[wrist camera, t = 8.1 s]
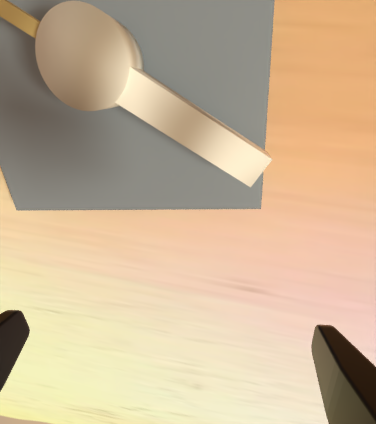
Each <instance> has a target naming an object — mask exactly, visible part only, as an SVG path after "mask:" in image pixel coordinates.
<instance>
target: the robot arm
mask: <svg viewBox="0 0 376 424" xmlns="http://www.w3.org/2000/svg"><path fill="white" fill-rule="evenodd" d="M29 331H30V330H29V326H28V324H27V322H26V319H25V317H24V315H23V313H22V312H21V311H19V310H7V311H5V312H3V313H1V314H0V391H1V390H2V388H3V386H4V384H5V382H6V380H7V378H8V376H9V374H10V372H11V370H12V368H13V366H14V364H15V362H16V360H17V358H18V356H19V354H20V352H21V350H22V348H23V346H24V344H25V342H26V340H27V338H28V336H29ZM311 348H312V355H313V360H314V364H315V368H316V373H317V377H318V381H319V386H320V390H321V395H322V399H323V403H324V408H325V412H326V416H327V419H328V422H329V424H376V367H375V366H374V365H373V364H372V363H371V362H370V361H369V360H368V359H367V358H366V357H365V356H364V355H363V354H362V353H361V352H360V351H359V350H358V349H357V348H356V347H354V346H353V345H352V344H351V343H350V342H349V341H348V340H347V339H346V338H345V337H344V336H343V335H342V334H341V333H340V332H339V331H338V330H337V329H336V328H334V327H333V326H331V325H317V326H316V327H315V330H314V335H313V340H312V347H311Z"/></svg>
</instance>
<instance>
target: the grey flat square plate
mask: <svg viewBox="0 0 376 424" xmlns="http://www.w3.org/2000/svg"><path fill="white" fill-rule="evenodd" d="M8 1H9V2H11V3H13V4H14V5H16V6H17V7H19V8H20V9H22V10H23V11H25V12H26V13H28V14H30V15H31V16H33V17H34V18H36V19H37V20H39V21H40V22H41V20H42V19H43V17H44V16H45V14H46V13H47V12H48V11H49V10H50V9H51V8H53V7H54V6H56V5H58V4H60V3H62V2H66V1H81V2H85V3H88V4H91V5H93V6H95V7H96V8H98V9H100V10H101V11H103V12H104V13H106V14H107V15H109V16H110V17H112V18H113V19H115V20H116V21H118V22H120V23H121V24H122V25H124V26H125V27H126V28H127V29H128V30H129V31H130V32H131V33H132V34H133V36H134V37H135V39H136V40H137V42H138V44H139V46H140V49H141V52H142V56H143V61H144V71H145V72H146V73H148V74H149V75H151V76H152V77H154V78H155V79H157V80H158V81H160V82H161V83H163V84H165V85H166V86H168V87H169V88H171V89H172V90H174V91H175V92H177V93H178V94H180V95H181V96H183V97H184V98H186V99H187V100H189V101H190V102H192V103H194V104H195V105H197V106H198V107H200V108H201V109H203V110H204V111H206V112H207V113H209V114H210V115H212V116H213V117H215V118H216V119H218V120H219V121H221V122H223V123H224V124H226V125H227V126H229V127H230V128H232V129H233V130H235V131H236V132H238V133H239V134H241V135H242V136H244V137H245V138H247V139H249V140H250V141H252V142H253V143H255V144H256V145H258V146H259V147H261V148H262V149H264V150H265V139H266V123H267V108H268V92H269V77H270V61H271V46H272V31H273V15H274V0H8ZM35 40H36V39H35V38H34V37H32V36H31V35H29V34H27V33H26V32H24V31H23V30H21V29H20V28H18V27H16V26H15V25H13V24H12V23H10V22H8V21H7V20H5V19H4V18H2V17H1V16H0V166H1V169H2V172H3V175H4V177H5V180H6V183H7V185H8V188H9V191H10V194H11V196H12V199H13V202H14V204H15V207H16V210H156V209H261V200H262V185H263V172H262V173H261V175H260V176H259V177H258V179H257V180H256V181H255V183H254V184H253V185H252V186H251V187H249V186H247V185H246V184H244V183H243V182H241V181H239V180H238V179H236V178H235V177H233V176H231V175H230V174H228V173H227V172H225V171H223V170H222V169H220V168H219V167H217V166H216V165H214V164H212V163H211V162H209V161H208V160H206V159H204V158H203V157H201V156H200V155H198V154H196V153H195V152H193V151H192V150H190V149H188V148H187V147H185V146H184V145H182V144H180V143H179V142H177V141H176V140H174V139H172V138H171V137H169V136H168V135H166V134H164V133H163V132H161V131H160V130H158V129H156V128H155V127H153V126H152V125H150V124H148V123H147V122H145V121H144V120H142V119H140V118H139V117H137V116H136V115H134V114H133V113H131V112H129V111H128V110H126V109H125V108H123V107H121V106H119V107H114V108H108V109H102V110H97V111H82V110H78V109H75V108H72V107H70V106H68V105H66V104H65V103H64V102H62V101H61V100H60V99H58V98H57V97H56V96H55V95H54V94H53V93H52V91H51V90H50V89H49V87H48V86H47V84H46V83H45V81H44V79H43V77H42V75H41V73H40V70H39V68H38V64H37V60H36V53H35Z"/></svg>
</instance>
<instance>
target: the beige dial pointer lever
mask: <svg viewBox="0 0 376 424" xmlns="http://www.w3.org/2000/svg"><path fill="white" fill-rule="evenodd" d="M0 16H1V17H2V18H4V19H5V20H7V21H8V22H10V23H12V24H13V25H15V26H16V27H18V28H20V29H21V30H23V31H24V32H26V33H27V34H29V35H31V36H32V37H34V38H35V39H36V40H35V53H36V60H37V64H38V68H39V70H40V73H41V75H42V77H43V79H44V81H45V83H46V84H47V86H48V87H49V89H50V90H51V91H52V93H53V94H54V95H55V96H56V97H57V98H58V99H60V100H61V101H62V102H64V103H65V104H66V105H68V106H70V107H72V108H75V109H78V110H82V111H97V110H102V109H108V108H114V107H119V106H121V107H123V108H125V109H126V110H128V111H129V112H131V113H133V114H134V115H136V116H137V117H139V118H140V119H142V120H144V121H145V122H147V123H148V124H150V125H152V126H153V127H155V128H156V129H158V130H160V131H161V132H163V133H164V134H166V135H168V136H169V137H171V138H172V139H174V140H176V141H177V142H179V143H180V144H182V145H184V146H185V147H187V148H188V149H190V150H192V151H193V152H195V153H196V154H198V155H200V156H201V157H203V158H204V159H206V160H208V161H209V162H211V163H212V164H214V165H216V166H217V167H219V168H220V169H222V170H223V171H225V172H227V173H228V174H230V175H231V176H233V177H235V178H236V179H238V180H239V181H241V182H243V183H244V184H246V185H247V186H249V187H251V186H252V185H253V184H254V183H255V181H256V180H257V179H258V177H259V176H260V175H261V173H262V172H263V171H264V170H265V168H266V167H267V166H268V164H269V163H270V162H271V160H272V158H271V157H270V156H269V154H268V153H267V152H266V151H265V150H264V149H262V148H261V147H259V146H258V145H256V144H255V143H253V142H252V141H250V140H249V139H247V138H245V137H244V136H242V135H241V134H239V133H238V132H236V131H235V130H233V129H232V128H230V127H229V126H227V125H226V124H224V123H223V122H221V121H219V120H218V119H216V118H215V117H213V116H212V115H210V114H209V113H207V112H206V111H204V110H203V109H201V108H200V107H198V106H197V105H195V104H194V103H192V102H190V101H189V100H187V99H186V98H184V97H183V96H181V95H180V94H178V93H177V92H175V91H174V90H172V89H171V88H169V87H168V86H166V85H165V84H163V83H161V82H160V81H158V80H157V79H155V78H154V77H152V76H151V75H149V74H148V73H146V72H145V71H144V61H143V56H142V52H141V49H140V46H139V44H138V42H137V40H136V39H135V37H134V36H133V34H132V33H131V32H130V31H129V30H128V29H127V28H126V27H125V26H124V25H122V24H121V23H120V22H118V21H116V20H115V19H113V18H112V17H110V16H109V15H107V14H106V13H104V12H103V11H101V10H100V9H98V8H96V7H95V6H93V5H91V4H88V3H85V2H81V1H66V2H62V3H60V4H58V5H56V6H54V7H53V8H51V9H50V10H49V11H48V12H47V13H46V14H45V16H44V17H43V19H42V20H41V22H40V21H39V20H37V19H36V18H34V17H33V16H31V15H30V14H28V13H26V12H25V11H23V10H22V9H20V8H19V7H17V6H16V5H14V4H13V3H11V2H9V1H8V0H0Z"/></svg>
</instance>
